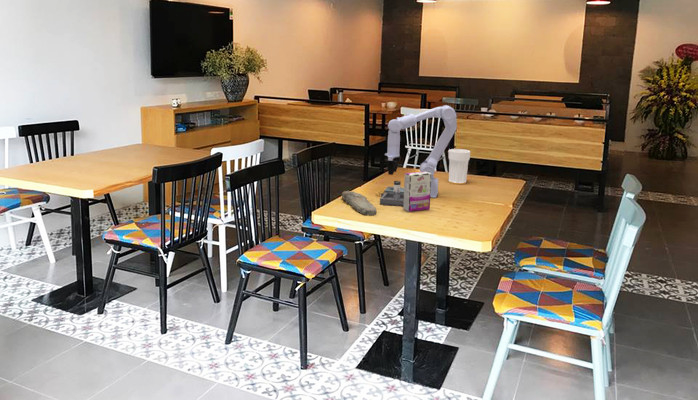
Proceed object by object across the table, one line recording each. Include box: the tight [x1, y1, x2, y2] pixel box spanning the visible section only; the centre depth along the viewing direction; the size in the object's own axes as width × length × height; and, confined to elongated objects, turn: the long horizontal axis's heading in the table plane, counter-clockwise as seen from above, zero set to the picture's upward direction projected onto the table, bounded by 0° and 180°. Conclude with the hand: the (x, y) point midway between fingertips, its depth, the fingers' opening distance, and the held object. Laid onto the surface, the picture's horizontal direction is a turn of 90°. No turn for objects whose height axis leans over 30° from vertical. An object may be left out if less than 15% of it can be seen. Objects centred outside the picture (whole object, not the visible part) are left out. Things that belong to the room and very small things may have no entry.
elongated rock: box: [341, 190, 377, 217], centre depth 265 cm, size 35×5×10 cm
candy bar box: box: [402, 171, 431, 213], centre depth 259 cm, size 11×5×16 cm, turn 117°
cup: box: [447, 148, 471, 186], centre depth 317 cm, size 11×11×17 cm
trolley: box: [380, 186, 404, 198], centre depth 284 cm, size 14×9×7 cm
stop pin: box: [393, 180, 402, 200], centre depth 271 cm, size 3×3×9 cm
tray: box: [379, 192, 404, 208], centre depth 272 cm, size 13×13×3 cm
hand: (392, 173), depth 286 cm, fingers open, 7 cm apart
